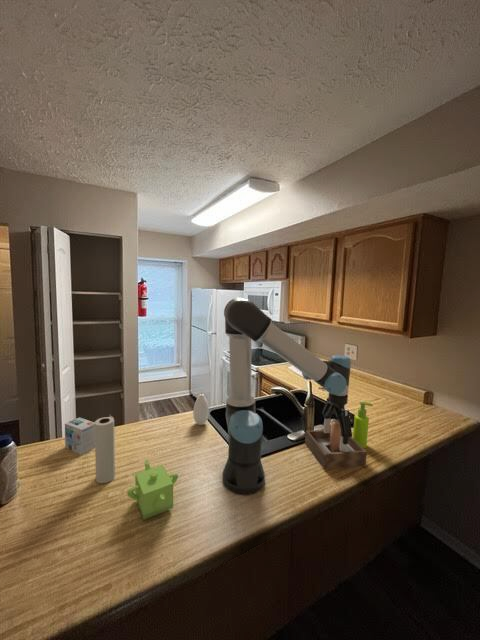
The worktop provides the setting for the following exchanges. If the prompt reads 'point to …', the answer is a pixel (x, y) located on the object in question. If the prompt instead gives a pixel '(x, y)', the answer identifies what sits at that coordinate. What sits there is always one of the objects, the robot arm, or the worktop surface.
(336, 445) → the peg
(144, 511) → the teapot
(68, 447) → the light bulb box
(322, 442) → the box
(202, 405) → the sauce bottle
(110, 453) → the paper towel roll
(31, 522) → the worktop surface
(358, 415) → the soap dispenser
